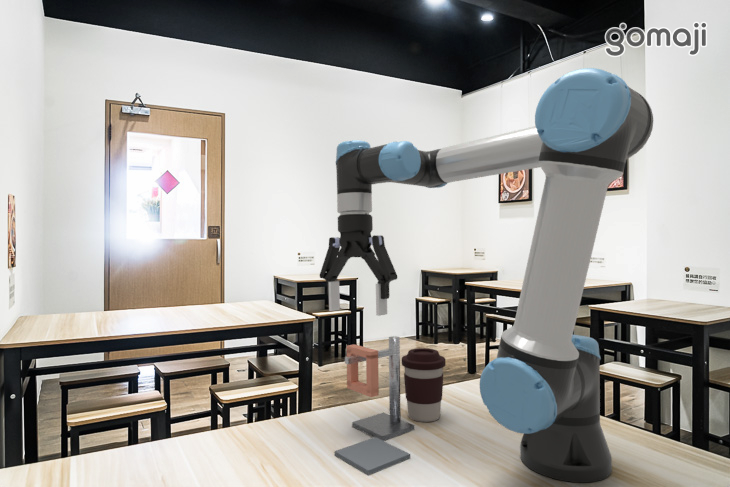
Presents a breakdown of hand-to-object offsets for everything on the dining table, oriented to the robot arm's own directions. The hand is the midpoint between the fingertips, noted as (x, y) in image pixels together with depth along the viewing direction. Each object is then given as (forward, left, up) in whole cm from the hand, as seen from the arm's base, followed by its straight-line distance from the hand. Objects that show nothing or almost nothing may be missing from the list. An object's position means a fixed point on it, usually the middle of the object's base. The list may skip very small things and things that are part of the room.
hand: (357, 312), depth 103 cm
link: (-4, +2, -16) cm, 16 cm away
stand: (-4, -1, -25) cm, 25 cm away
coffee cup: (-5, -15, -25) cm, 30 cm away
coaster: (-13, +7, -25) cm, 29 cm away
